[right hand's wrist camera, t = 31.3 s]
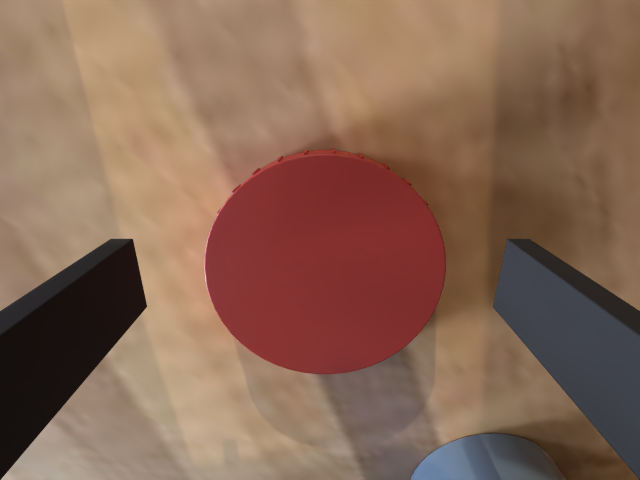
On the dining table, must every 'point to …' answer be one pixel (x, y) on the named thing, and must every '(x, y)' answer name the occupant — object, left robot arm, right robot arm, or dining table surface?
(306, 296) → the lid
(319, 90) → the dining table surface
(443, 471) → the jar
